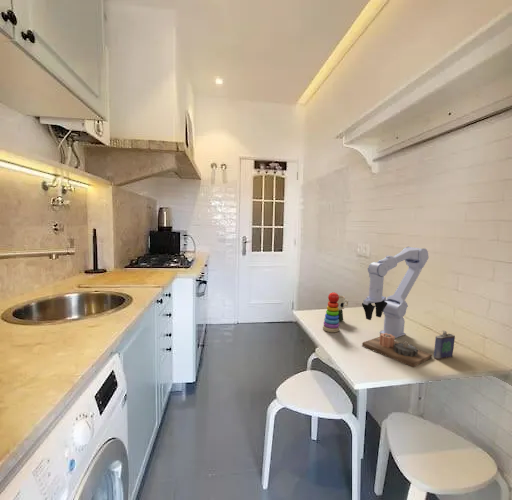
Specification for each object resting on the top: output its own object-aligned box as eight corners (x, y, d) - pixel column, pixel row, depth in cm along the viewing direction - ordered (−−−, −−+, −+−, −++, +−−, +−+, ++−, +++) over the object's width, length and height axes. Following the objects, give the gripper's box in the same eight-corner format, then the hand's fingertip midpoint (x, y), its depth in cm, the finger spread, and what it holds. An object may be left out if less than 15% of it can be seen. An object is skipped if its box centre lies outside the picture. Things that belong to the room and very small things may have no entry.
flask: (437, 360, 118) (440, 333, 117) (430, 356, 121) (433, 331, 120) (454, 357, 121) (457, 331, 120) (447, 354, 124) (450, 328, 123)
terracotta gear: (384, 340, 132) (385, 332, 131) (396, 345, 127) (397, 336, 127) (376, 343, 129) (377, 334, 128) (389, 348, 124) (389, 339, 123)
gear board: (381, 339, 138) (382, 327, 137) (431, 358, 120) (432, 344, 119) (362, 345, 130) (363, 333, 129) (413, 367, 112) (414, 353, 111)
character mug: (328, 322, 159) (329, 298, 157) (325, 317, 166) (326, 294, 164) (349, 322, 158) (350, 298, 157) (345, 318, 165) (346, 295, 164)
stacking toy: (322, 331, 145) (324, 293, 143) (322, 326, 152) (324, 289, 150) (339, 333, 143) (341, 295, 141) (339, 328, 151) (341, 291, 149)
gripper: (377, 285, 144) (375, 313, 145) (358, 288, 136) (356, 317, 137) (391, 288, 138) (388, 317, 139) (372, 291, 130) (369, 322, 131)
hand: (373, 318), depth 138 cm, fingers open, 7 cm apart
